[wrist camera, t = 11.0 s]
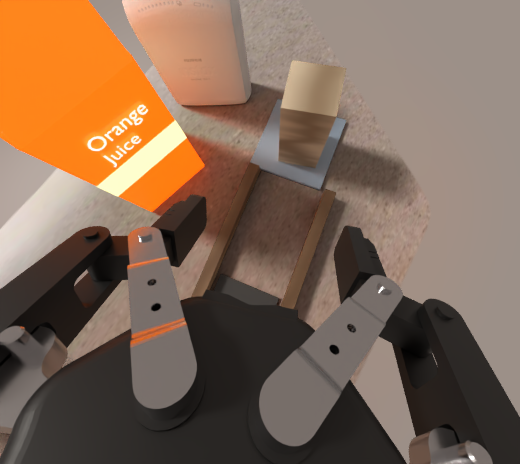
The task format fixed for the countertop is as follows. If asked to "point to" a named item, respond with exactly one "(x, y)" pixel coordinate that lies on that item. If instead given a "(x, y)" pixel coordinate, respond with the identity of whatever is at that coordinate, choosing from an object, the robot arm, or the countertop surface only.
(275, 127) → the mat
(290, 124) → the beech block
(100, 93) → the orange juice
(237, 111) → the countertop surface
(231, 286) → the mat
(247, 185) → the channel
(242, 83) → the photo printer
